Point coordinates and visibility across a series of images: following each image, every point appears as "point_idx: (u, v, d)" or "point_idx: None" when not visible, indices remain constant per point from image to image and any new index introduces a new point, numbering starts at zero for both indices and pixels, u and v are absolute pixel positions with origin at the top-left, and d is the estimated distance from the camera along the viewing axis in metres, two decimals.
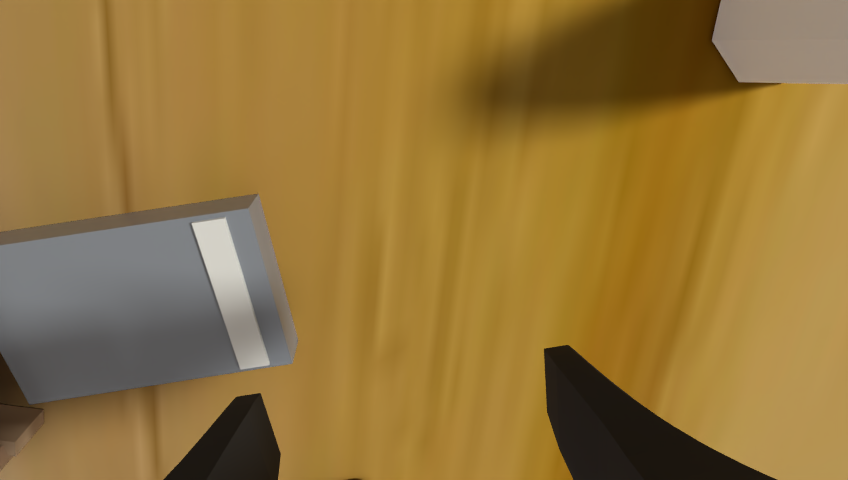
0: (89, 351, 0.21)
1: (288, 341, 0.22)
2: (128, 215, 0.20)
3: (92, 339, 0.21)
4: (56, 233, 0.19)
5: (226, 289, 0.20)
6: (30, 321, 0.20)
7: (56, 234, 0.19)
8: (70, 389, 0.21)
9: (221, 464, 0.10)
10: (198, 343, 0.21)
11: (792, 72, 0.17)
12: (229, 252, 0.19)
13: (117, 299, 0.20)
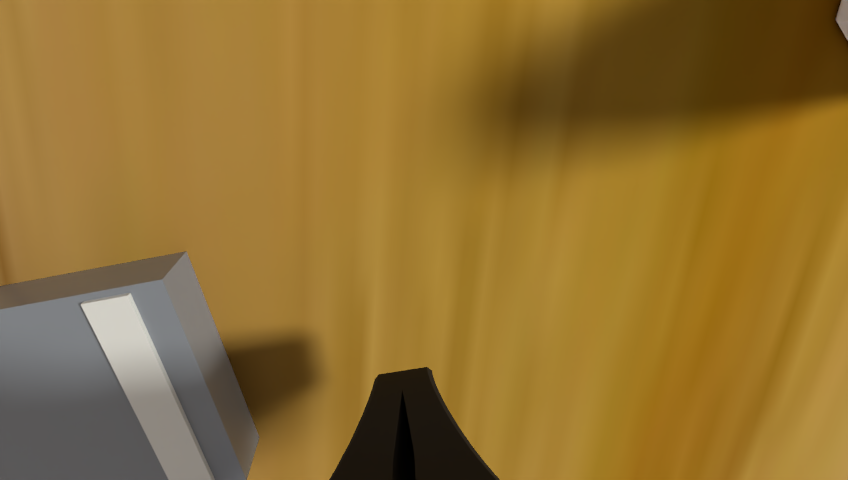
0: None
1: (239, 450, 0.16)
2: (4, 289, 0.14)
3: None
4: None
5: (143, 390, 0.14)
6: None
7: None
8: None
9: (397, 436, 0.10)
10: (112, 459, 0.15)
11: None
12: (140, 341, 0.13)
13: None
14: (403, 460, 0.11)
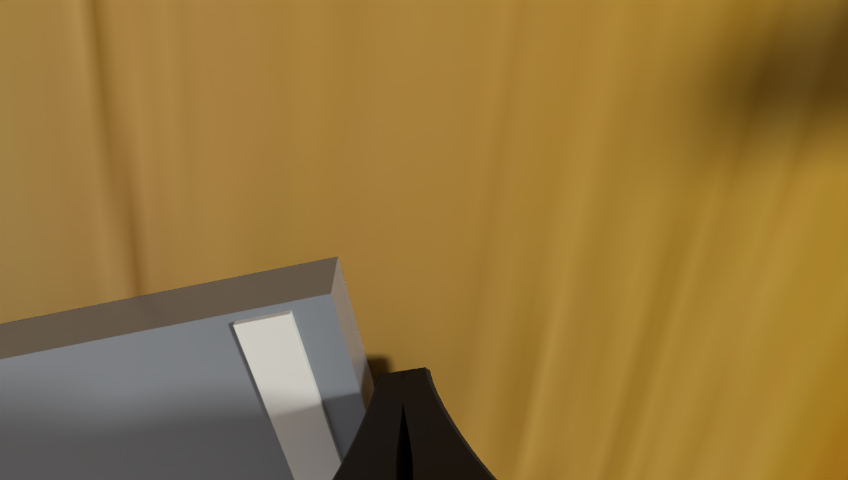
0: None
1: None
2: (125, 306, 0.12)
3: None
4: (4, 347, 0.11)
5: (295, 425, 0.12)
6: None
7: (2, 351, 0.11)
8: None
9: (400, 436, 0.10)
10: None
11: None
12: (300, 367, 0.11)
13: (114, 448, 0.12)
14: (406, 460, 0.11)
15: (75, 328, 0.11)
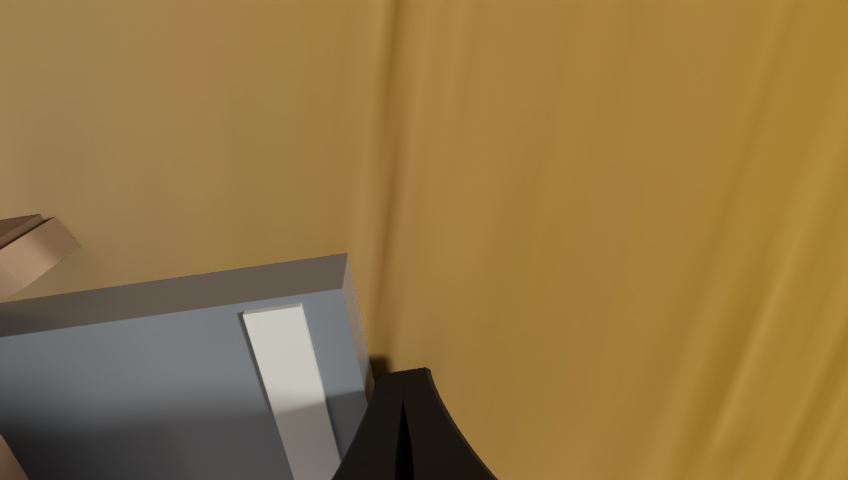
0: None
1: None
2: (131, 290, 0.12)
3: None
4: (7, 325, 0.11)
5: (297, 417, 0.12)
6: None
7: (6, 329, 0.11)
8: None
9: (399, 436, 0.10)
10: None
11: None
12: (305, 360, 0.11)
13: (112, 432, 0.12)
14: (405, 460, 0.11)
15: (81, 309, 0.11)
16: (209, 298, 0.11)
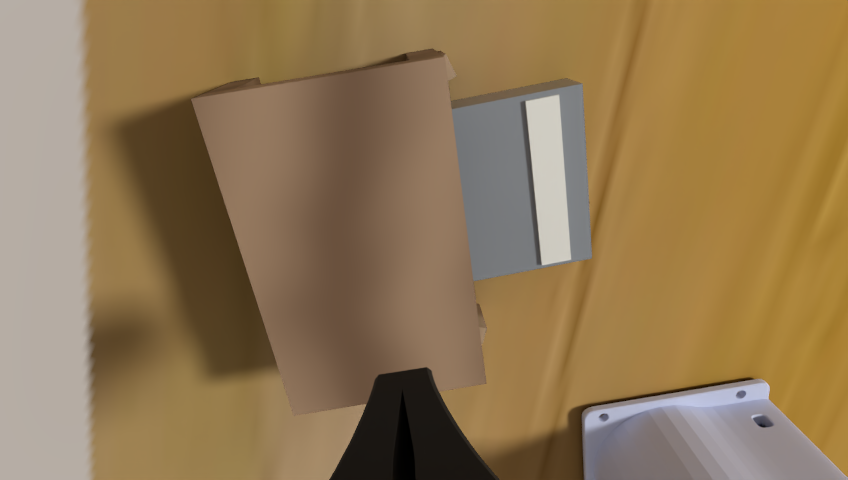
0: None
1: None
2: None
3: None
4: None
5: (546, 175, 0.19)
6: None
7: None
8: None
9: (397, 436, 0.10)
10: (503, 237, 0.20)
11: None
12: (557, 133, 0.19)
13: None
14: (403, 460, 0.11)
15: None
16: (499, 97, 0.19)
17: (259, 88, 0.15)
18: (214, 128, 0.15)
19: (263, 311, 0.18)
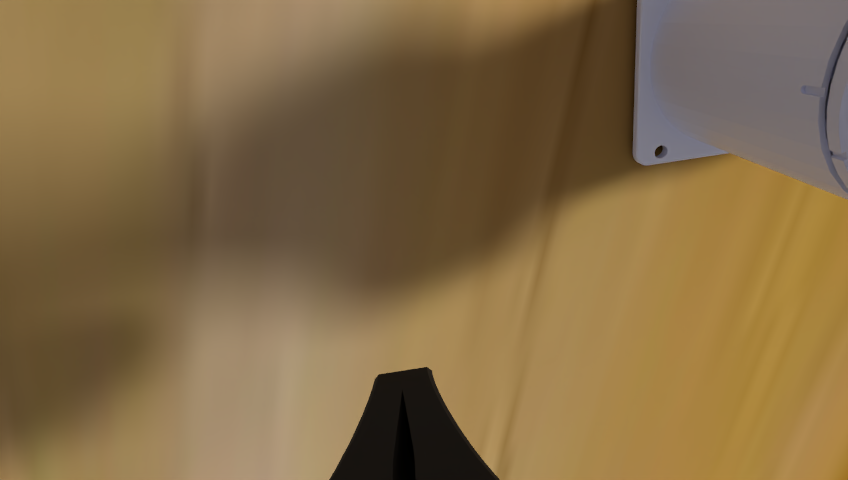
0: None
1: None
2: None
3: None
4: None
5: None
6: None
7: None
8: None
9: (397, 436, 0.10)
10: None
11: None
12: None
13: None
14: (403, 460, 0.11)
15: None
16: None
17: None
18: None
19: None
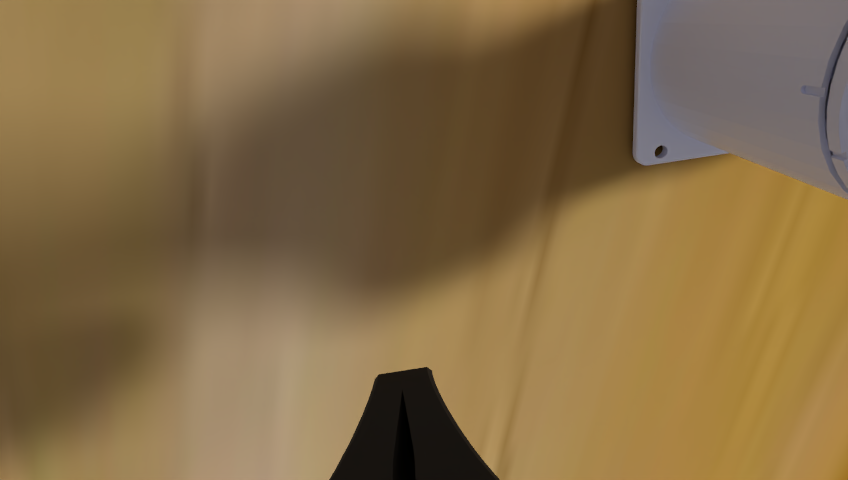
0: None
1: None
2: None
3: None
4: None
5: None
6: None
7: None
8: None
9: (397, 436, 0.10)
10: None
11: None
12: None
13: None
14: (403, 460, 0.11)
15: None
16: None
17: None
18: None
19: None
